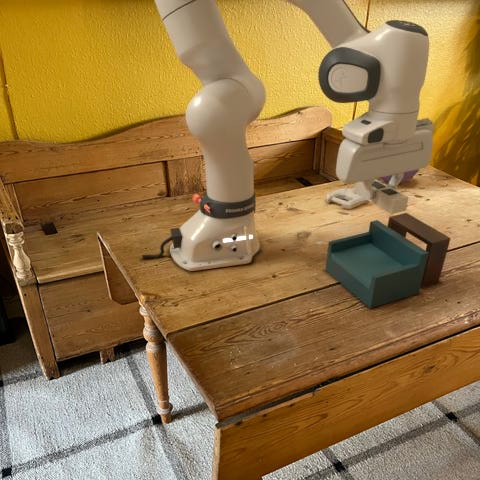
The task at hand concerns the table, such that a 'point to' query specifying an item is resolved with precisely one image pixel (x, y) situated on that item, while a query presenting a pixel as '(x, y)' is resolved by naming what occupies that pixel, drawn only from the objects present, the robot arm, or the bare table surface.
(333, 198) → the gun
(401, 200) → the remote
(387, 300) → the teal armchair
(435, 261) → the brown wooden box
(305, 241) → the table surface
